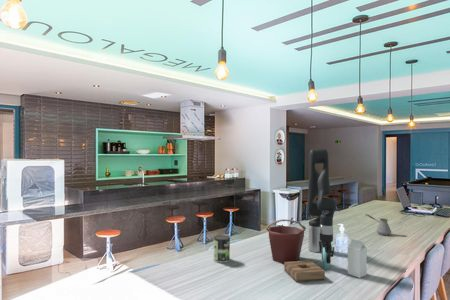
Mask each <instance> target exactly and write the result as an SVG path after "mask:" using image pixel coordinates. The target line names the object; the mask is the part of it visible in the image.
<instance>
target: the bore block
mask: <svg viewBox="0 0 450 300" xmlns="http://www.w3.org/2000/svg"><path fill="white" fill-rule="evenodd" d="M283 267H284V272H285V273H286V274H287V275H288V276H289V277H290V278H291V279H292V280H293V281H294V282H295V283H304V282H305V283H306V282H319V281H326V279H325V275H326V274H325V272H326V271H325V269H323V268H321V267H320V266H319V265H317V264H316V263H315V262H313V261H312V260H298V261H294V262H285V264H284V266H283Z"/></svg>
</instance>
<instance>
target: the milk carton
mask: <svg viewBox="0 0 450 300" xmlns="http://www.w3.org/2000/svg"><path fill="white" fill-rule="evenodd" d="M367 251H368V249H367V247H366V245H365V243H364V241H362V240H357V239H354V238H351V240H350V242H349V244H348V246H347V275H349V276H353V277H357V278H359V279H360V278H362V277H365V276H367V275H368V274H367V273H368V272H367V261H368V258H367Z"/></svg>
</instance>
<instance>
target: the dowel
mask: <svg viewBox="0 0 450 300" xmlns="http://www.w3.org/2000/svg"><path fill="white" fill-rule="evenodd" d="M327 251H329V250H327ZM328 254H329V253H328ZM330 268H331V263H327V255H326V253H325V248H324V247H323V260H322V269H323V270H330Z"/></svg>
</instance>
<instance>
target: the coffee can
mask: <svg viewBox="0 0 450 300" xmlns="http://www.w3.org/2000/svg"><path fill="white" fill-rule="evenodd" d="M230 240H231V237H230V236H229V235H224V234H223V235H221V234H220V235H215V236H213V261H214V262H216V263H219V264H220V263H221V264H222V263H223V264H224V263H228V262H230V260H231V258H230V257H231V256H230V253H231V252H230V251H231V250H230V249H231V248H230V247H231V245H230V243H231V241H230Z"/></svg>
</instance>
